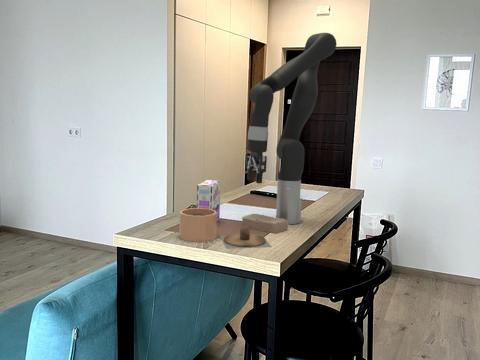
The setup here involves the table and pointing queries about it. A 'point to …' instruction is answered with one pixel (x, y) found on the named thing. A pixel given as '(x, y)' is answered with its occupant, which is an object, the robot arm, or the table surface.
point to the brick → (265, 223)
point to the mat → (244, 247)
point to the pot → (198, 225)
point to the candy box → (209, 196)
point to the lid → (244, 238)
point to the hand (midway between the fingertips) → (254, 181)
